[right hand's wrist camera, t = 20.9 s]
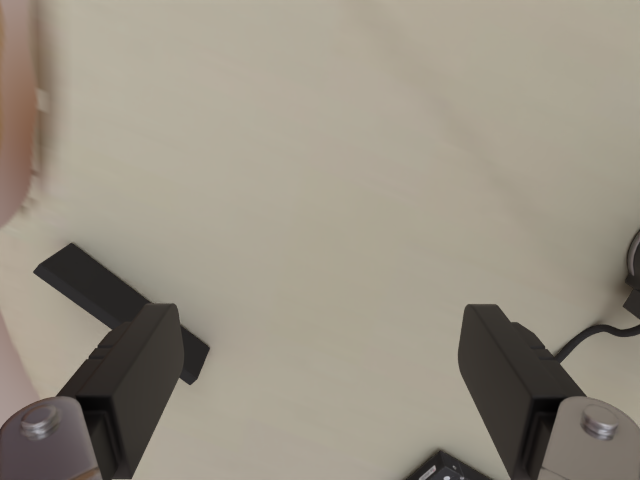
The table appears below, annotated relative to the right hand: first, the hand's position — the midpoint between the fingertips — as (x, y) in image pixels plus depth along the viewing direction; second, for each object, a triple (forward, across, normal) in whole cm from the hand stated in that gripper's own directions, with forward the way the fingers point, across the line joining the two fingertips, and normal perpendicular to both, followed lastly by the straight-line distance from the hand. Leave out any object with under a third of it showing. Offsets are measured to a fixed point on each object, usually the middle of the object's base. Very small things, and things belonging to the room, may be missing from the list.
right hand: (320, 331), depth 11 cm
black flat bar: (+28, +18, +15) cm, 36 cm away
